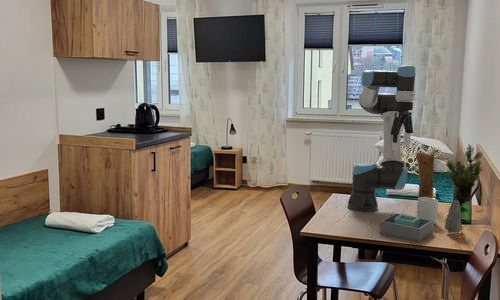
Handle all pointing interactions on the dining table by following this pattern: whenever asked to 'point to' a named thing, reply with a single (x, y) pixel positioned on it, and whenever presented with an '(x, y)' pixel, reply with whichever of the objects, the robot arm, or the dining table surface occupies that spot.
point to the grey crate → (406, 229)
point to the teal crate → (407, 220)
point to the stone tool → (454, 218)
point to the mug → (427, 208)
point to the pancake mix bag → (425, 174)
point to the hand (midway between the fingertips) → (400, 148)
